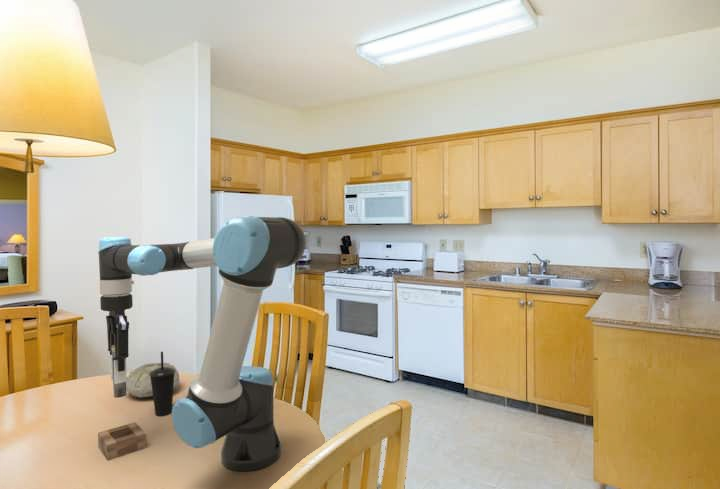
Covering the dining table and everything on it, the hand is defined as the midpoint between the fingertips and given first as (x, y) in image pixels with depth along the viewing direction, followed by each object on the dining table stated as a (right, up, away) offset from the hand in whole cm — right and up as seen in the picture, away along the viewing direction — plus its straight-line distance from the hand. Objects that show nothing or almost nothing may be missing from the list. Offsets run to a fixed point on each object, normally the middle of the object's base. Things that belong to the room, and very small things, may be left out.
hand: (118, 380), depth 118 cm
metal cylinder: (0, -4, 0) cm, 4 cm away
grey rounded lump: (-9, -17, +39) cm, 44 cm away
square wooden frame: (0, -19, +1) cm, 19 cm away
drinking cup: (+2, -18, +23) cm, 29 cm away
